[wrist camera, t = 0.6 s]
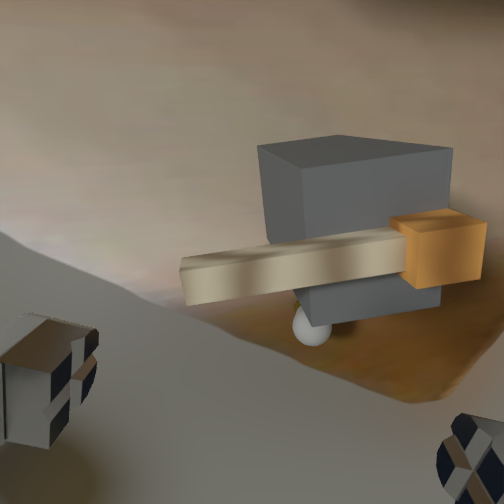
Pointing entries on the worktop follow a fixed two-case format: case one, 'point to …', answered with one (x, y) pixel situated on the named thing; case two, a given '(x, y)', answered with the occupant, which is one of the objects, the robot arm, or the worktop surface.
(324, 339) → the light bulb
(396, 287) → the cabinet
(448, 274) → the bar
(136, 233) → the worktop surface
